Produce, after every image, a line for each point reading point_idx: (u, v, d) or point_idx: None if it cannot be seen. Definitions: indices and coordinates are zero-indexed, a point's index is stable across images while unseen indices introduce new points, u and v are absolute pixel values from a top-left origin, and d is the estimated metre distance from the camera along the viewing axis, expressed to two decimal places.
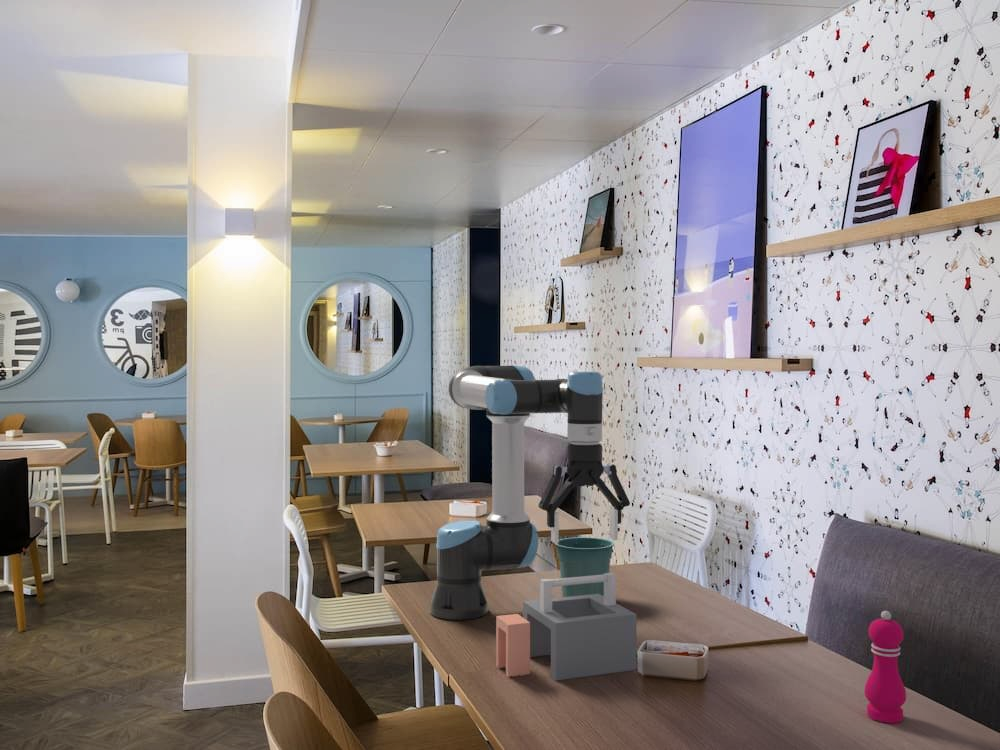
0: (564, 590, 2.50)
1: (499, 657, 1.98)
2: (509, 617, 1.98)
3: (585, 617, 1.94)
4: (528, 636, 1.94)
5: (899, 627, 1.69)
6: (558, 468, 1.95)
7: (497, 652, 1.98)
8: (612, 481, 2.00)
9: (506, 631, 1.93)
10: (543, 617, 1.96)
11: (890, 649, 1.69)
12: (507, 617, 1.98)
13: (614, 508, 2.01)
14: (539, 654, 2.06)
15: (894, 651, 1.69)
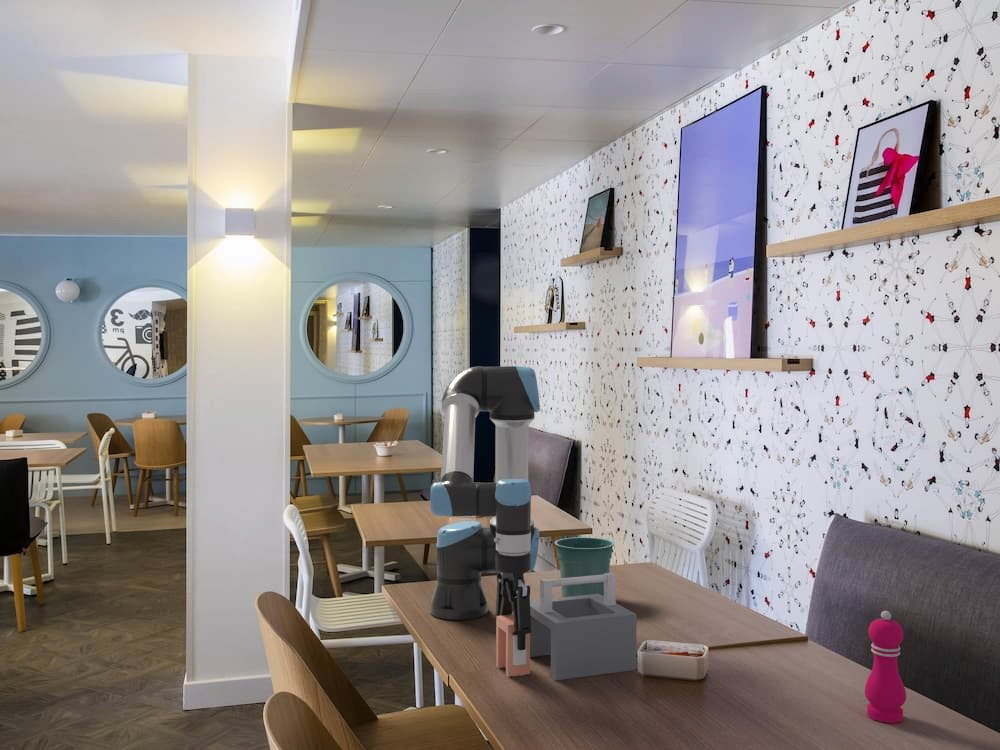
0: (564, 590, 2.50)
1: (499, 657, 1.98)
2: (509, 617, 1.98)
3: (585, 617, 1.94)
4: (528, 636, 1.94)
5: (899, 627, 1.69)
6: None
7: (497, 652, 1.98)
8: None
9: (506, 631, 1.93)
10: (543, 617, 1.96)
11: (890, 649, 1.69)
12: (507, 617, 1.98)
13: None
14: (539, 654, 2.06)
15: (894, 651, 1.69)
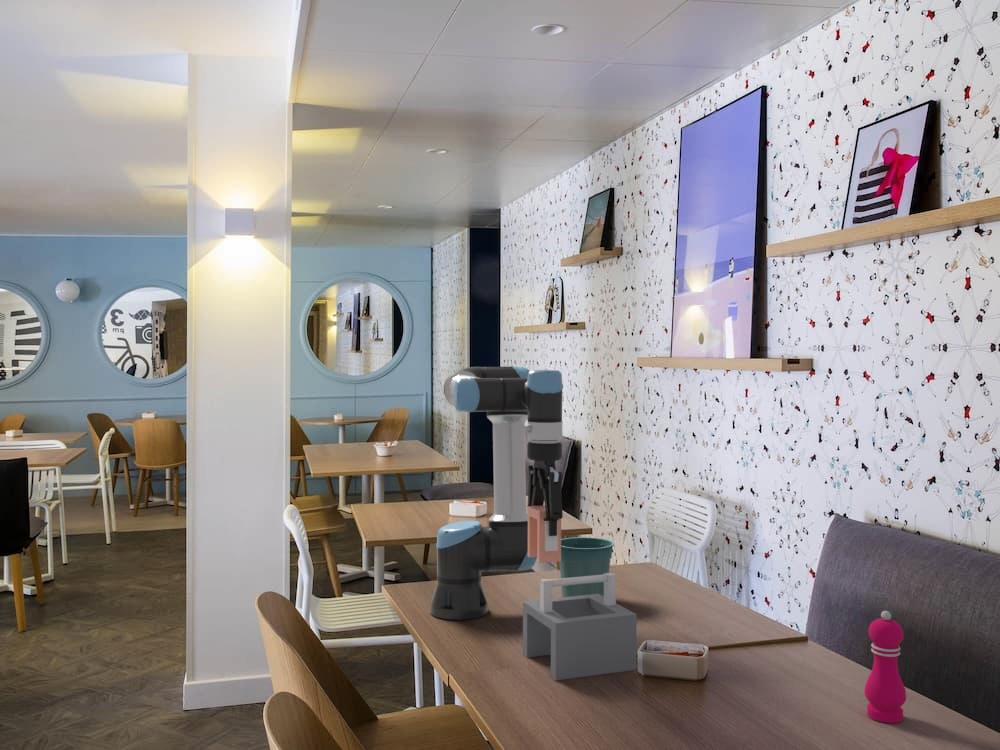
0: (564, 590, 2.50)
1: (530, 546, 2.00)
2: (540, 506, 2.00)
3: (585, 617, 1.94)
4: (559, 523, 1.96)
5: (899, 627, 1.69)
6: (528, 467, 2.04)
7: (528, 541, 2.00)
8: None
9: (537, 518, 1.95)
10: (543, 617, 1.96)
11: (890, 649, 1.69)
12: (538, 506, 2.00)
13: None
14: (539, 654, 2.06)
15: (894, 651, 1.69)
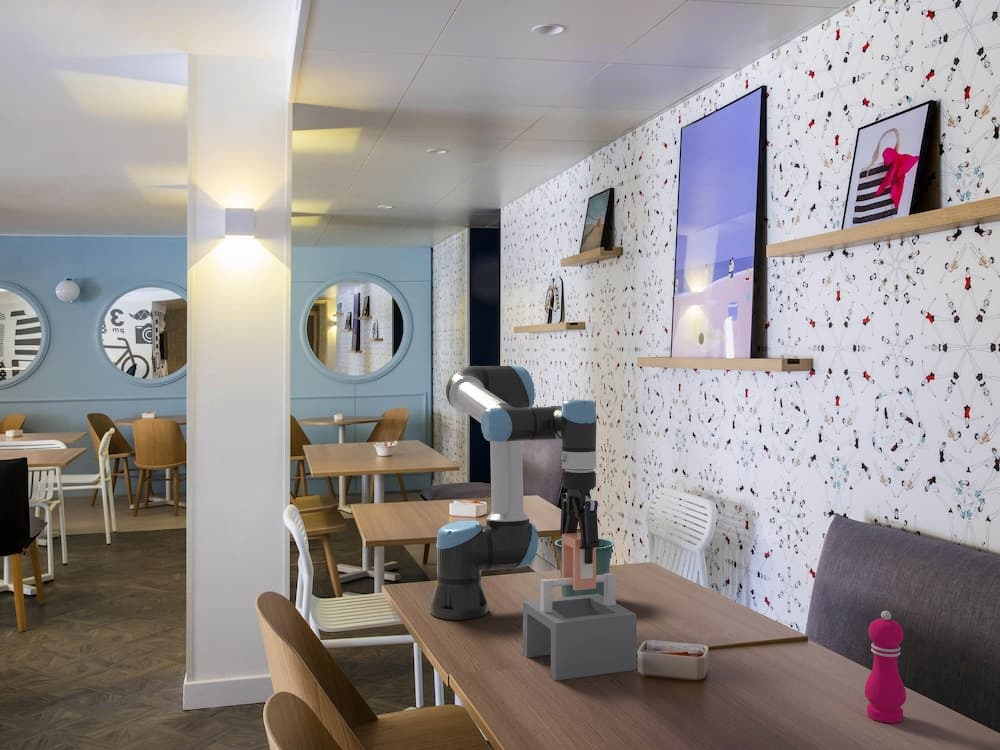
0: (564, 590, 2.50)
1: (565, 573, 2.03)
2: (574, 534, 2.03)
3: (585, 617, 1.94)
4: (594, 551, 1.99)
5: (899, 627, 1.69)
6: (561, 495, 2.07)
7: (563, 569, 2.03)
8: None
9: (573, 546, 1.98)
10: (543, 617, 1.96)
11: (890, 649, 1.69)
12: (572, 534, 2.03)
13: None
14: (539, 654, 2.06)
15: (894, 651, 1.69)
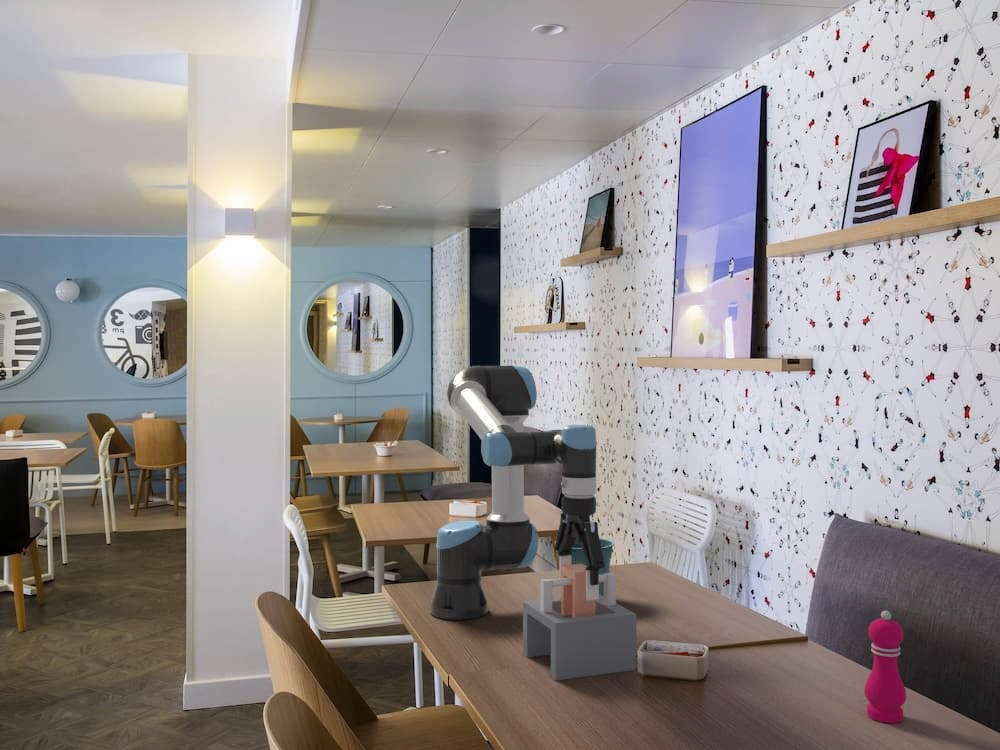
0: None
1: (564, 605, 2.03)
2: (574, 566, 2.03)
3: (585, 617, 1.94)
4: None
5: (899, 627, 1.69)
6: (561, 514, 2.07)
7: (562, 600, 2.03)
8: None
9: (573, 578, 1.98)
10: (543, 617, 1.96)
11: (890, 649, 1.69)
12: (572, 566, 2.03)
13: None
14: (539, 654, 2.06)
15: (894, 651, 1.69)
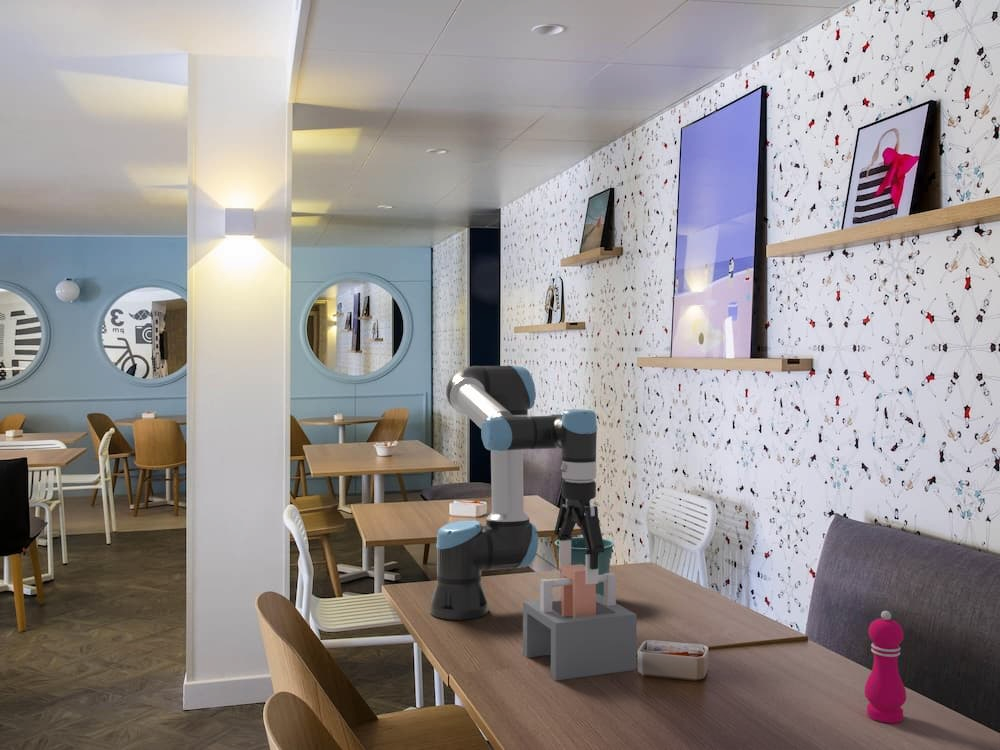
0: None
1: (565, 606, 2.03)
2: (574, 566, 2.03)
3: (585, 617, 1.94)
4: None
5: (899, 627, 1.69)
6: (561, 499, 2.07)
7: (563, 601, 2.03)
8: None
9: (573, 578, 1.98)
10: (543, 617, 1.96)
11: (890, 649, 1.69)
12: (571, 566, 2.03)
13: None
14: (539, 654, 2.06)
15: (894, 651, 1.69)
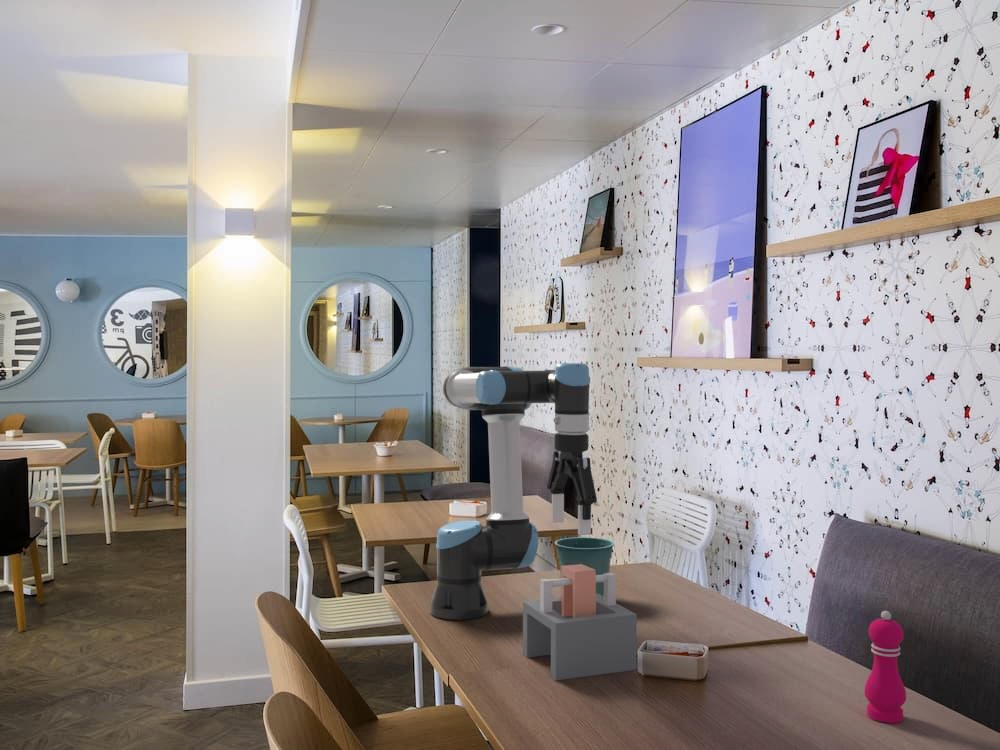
0: None
1: (565, 606, 2.03)
2: (574, 566, 2.03)
3: (585, 617, 1.94)
4: (594, 583, 1.99)
5: (899, 627, 1.69)
6: (553, 453, 2.08)
7: (563, 601, 2.03)
8: None
9: (573, 578, 1.98)
10: (543, 617, 1.96)
11: (890, 649, 1.69)
12: (571, 566, 2.03)
13: None
14: (539, 654, 2.06)
15: (894, 651, 1.69)
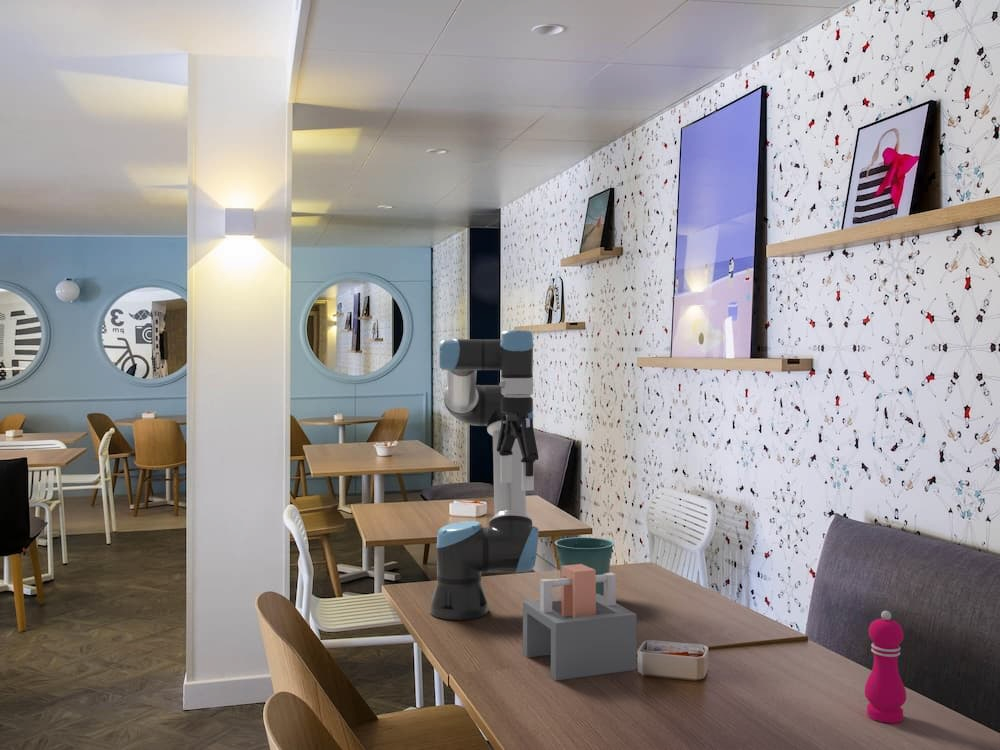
0: None
1: (565, 605, 2.03)
2: (574, 566, 2.03)
3: (585, 617, 1.94)
4: (594, 583, 1.99)
5: (899, 627, 1.69)
6: (502, 416, 2.21)
7: (562, 601, 2.03)
8: None
9: (573, 578, 1.98)
10: (543, 617, 1.96)
11: (890, 649, 1.69)
12: (571, 566, 2.03)
13: None
14: (539, 654, 2.06)
15: (894, 651, 1.69)
